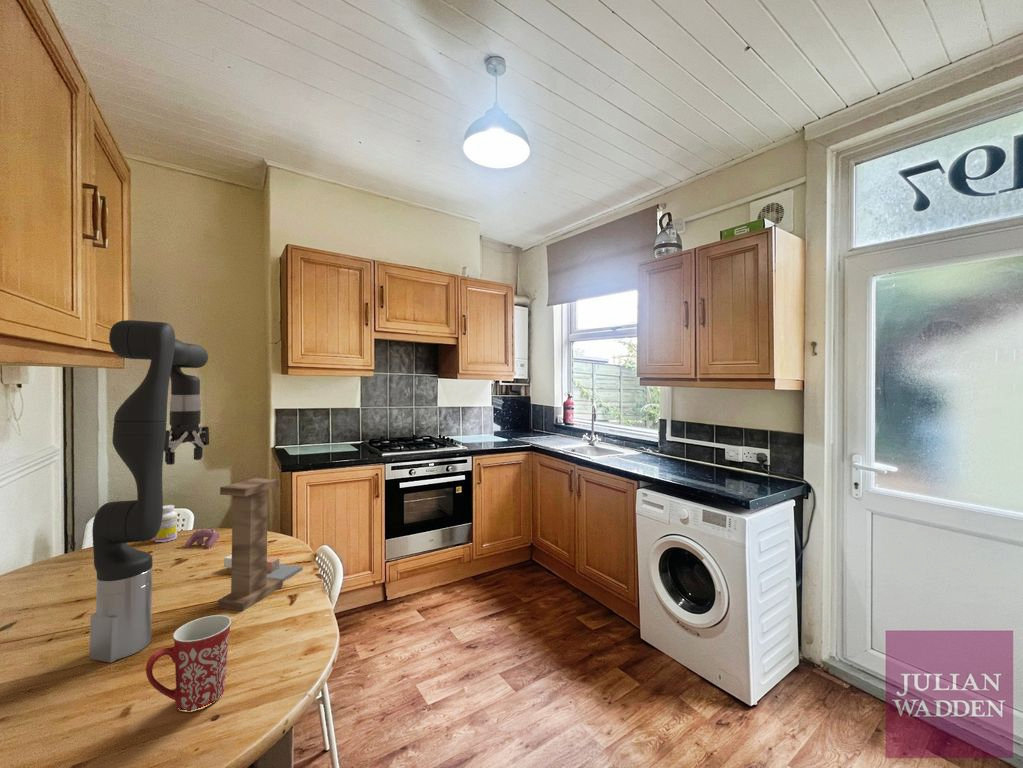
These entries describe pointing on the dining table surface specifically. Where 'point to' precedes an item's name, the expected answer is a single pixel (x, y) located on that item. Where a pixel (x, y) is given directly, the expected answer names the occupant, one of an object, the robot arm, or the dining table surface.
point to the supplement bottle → (167, 525)
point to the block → (271, 563)
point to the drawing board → (284, 572)
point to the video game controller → (200, 535)
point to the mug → (196, 662)
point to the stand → (249, 544)
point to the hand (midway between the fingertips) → (184, 462)
